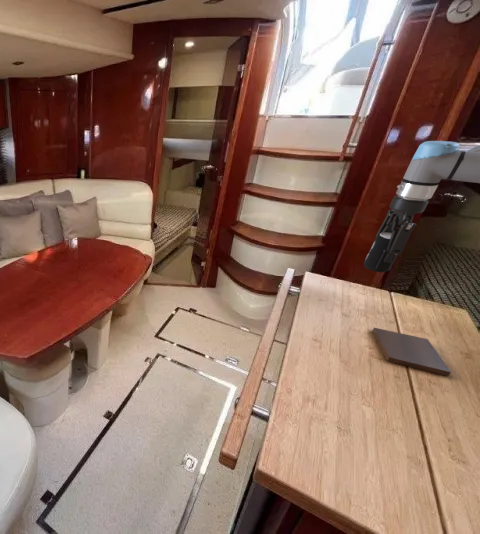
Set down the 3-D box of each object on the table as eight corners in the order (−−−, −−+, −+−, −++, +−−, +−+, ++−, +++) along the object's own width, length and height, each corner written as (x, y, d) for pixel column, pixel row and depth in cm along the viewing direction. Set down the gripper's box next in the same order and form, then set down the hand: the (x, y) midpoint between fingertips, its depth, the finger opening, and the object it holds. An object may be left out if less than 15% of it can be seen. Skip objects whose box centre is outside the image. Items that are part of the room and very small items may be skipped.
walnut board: (424, 343, 87) (427, 339, 86) (447, 376, 77) (451, 372, 76) (371, 331, 92) (374, 327, 91) (386, 361, 82) (389, 357, 81)
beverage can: (369, 272, 100) (386, 239, 94) (358, 263, 106) (373, 231, 100) (393, 274, 99) (411, 240, 93) (380, 264, 104) (397, 232, 99)
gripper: (384, 187, 99) (355, 250, 111) (408, 205, 84) (372, 276, 96) (414, 189, 96) (381, 254, 108) (445, 208, 81) (403, 281, 93)
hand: (377, 264), depth 102 cm, fingers closed on beverage can, 6 cm apart
